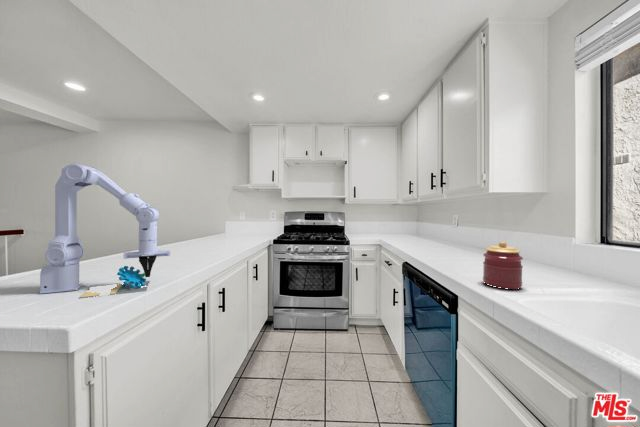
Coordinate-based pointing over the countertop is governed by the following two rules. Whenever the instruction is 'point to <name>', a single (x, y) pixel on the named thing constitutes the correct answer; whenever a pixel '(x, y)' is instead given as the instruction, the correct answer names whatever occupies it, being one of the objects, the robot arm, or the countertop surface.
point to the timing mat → (118, 290)
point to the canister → (503, 267)
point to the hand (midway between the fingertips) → (147, 276)
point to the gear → (131, 277)
